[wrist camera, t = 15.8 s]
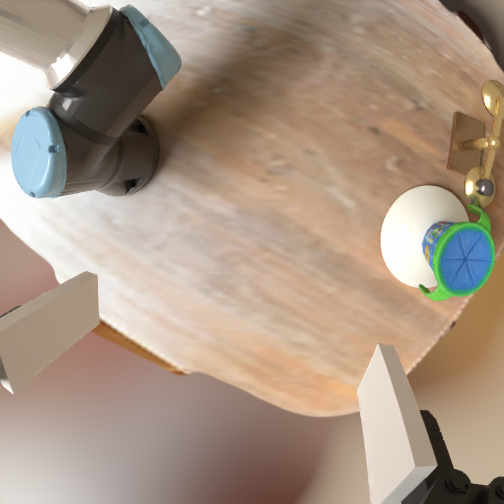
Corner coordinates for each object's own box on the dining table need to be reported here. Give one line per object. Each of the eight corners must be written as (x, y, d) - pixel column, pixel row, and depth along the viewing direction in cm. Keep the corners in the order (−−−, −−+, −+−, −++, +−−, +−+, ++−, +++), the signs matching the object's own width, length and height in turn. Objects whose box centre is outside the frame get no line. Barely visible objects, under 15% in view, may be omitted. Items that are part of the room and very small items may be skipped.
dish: (367, 275, 48) (369, 277, 47) (392, 173, 43) (394, 173, 42) (450, 293, 46) (453, 295, 45) (476, 200, 41) (480, 201, 40)
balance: (441, 196, 42) (474, 204, 31) (455, 87, 37) (487, 71, 26) (468, 205, 41) (504, 216, 31) (482, 100, 36) (516, 88, 25)
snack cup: (430, 297, 45) (453, 324, 36) (390, 261, 45) (409, 283, 36) (483, 227, 41) (515, 240, 31) (446, 186, 41) (477, 191, 31)
